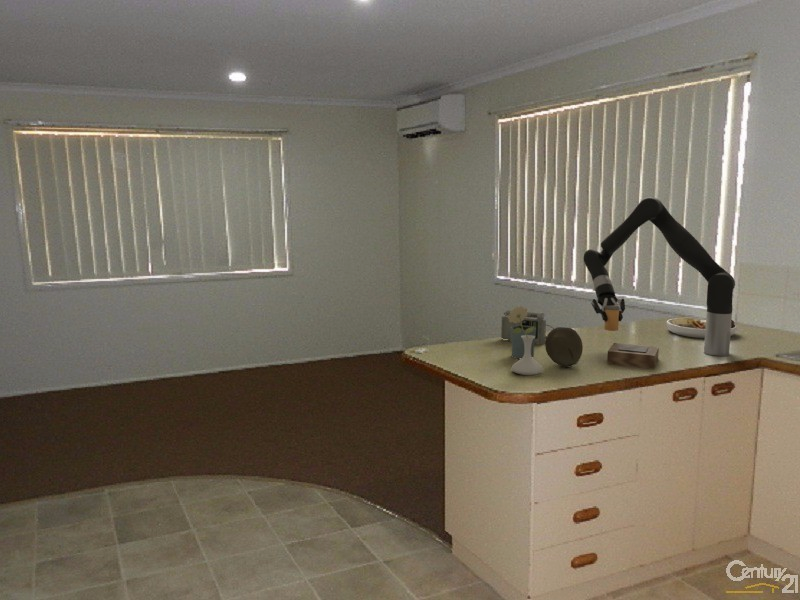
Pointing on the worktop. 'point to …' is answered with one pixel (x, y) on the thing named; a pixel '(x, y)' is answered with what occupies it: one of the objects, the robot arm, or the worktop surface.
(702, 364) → the worktop surface
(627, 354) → the stand
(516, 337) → the drinking glass
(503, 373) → the worktop surface
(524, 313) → the flower in vase
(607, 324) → the amber jar
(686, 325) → the bowl
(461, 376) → the worktop surface
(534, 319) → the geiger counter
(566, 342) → the coconut
